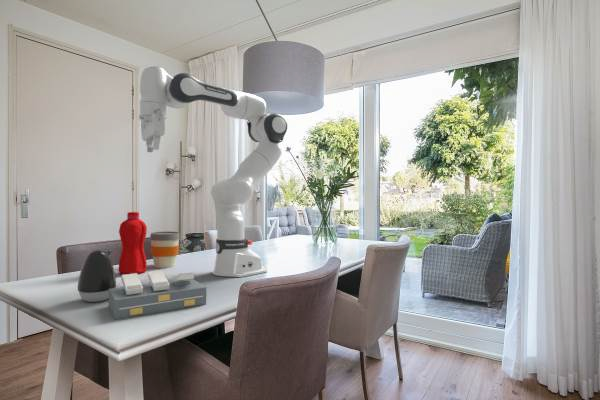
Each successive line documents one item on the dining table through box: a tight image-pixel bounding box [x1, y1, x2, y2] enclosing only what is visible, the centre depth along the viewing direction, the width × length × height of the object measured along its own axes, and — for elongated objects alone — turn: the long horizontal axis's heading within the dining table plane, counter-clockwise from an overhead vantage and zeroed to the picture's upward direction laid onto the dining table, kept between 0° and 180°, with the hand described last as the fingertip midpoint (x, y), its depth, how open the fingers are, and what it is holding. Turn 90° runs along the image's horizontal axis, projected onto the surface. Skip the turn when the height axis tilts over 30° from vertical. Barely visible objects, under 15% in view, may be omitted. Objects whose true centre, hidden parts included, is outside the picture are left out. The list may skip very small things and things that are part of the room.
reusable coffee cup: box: [149, 231, 181, 269], centre depth 158 cm, size 13×12×15 cm
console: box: [108, 278, 207, 320], centre depth 102 cm, size 24×13×6 cm, turn 125°
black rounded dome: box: [77, 249, 117, 303], centre depth 107 cm, size 10×10×15 cm
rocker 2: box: [147, 270, 170, 291], centre depth 102 cm, size 4×9×2 cm, turn 35°
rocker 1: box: [121, 273, 143, 295], centre depth 98 cm, size 4×9×2 cm, turn 35°
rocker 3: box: [171, 272, 195, 282], centre depth 106 cm, size 4×9×2 cm, turn 35°
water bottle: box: [118, 211, 148, 275], centre depth 144 cm, size 9×11×25 cm
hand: (152, 150), depth 128 cm, fingers open, 8 cm apart
